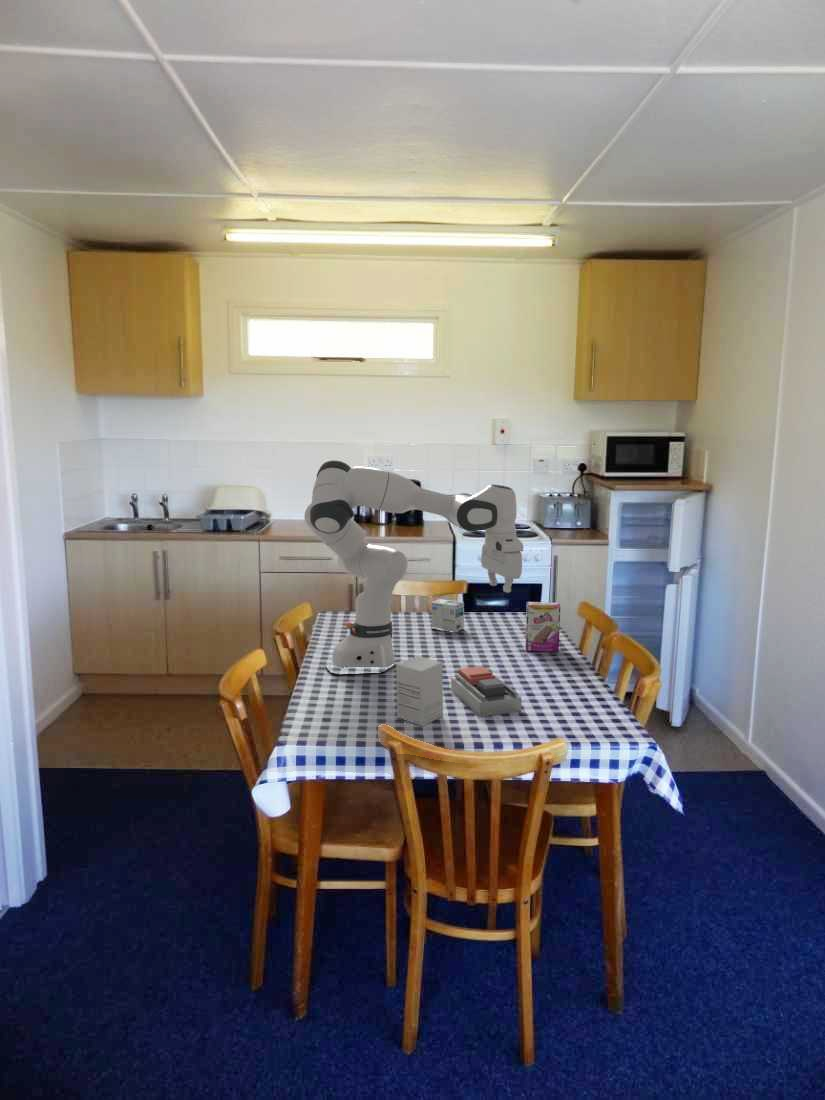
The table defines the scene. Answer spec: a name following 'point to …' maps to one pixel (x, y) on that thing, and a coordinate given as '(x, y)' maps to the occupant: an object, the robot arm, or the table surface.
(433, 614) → the light bulb box
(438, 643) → the table surface
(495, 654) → the table surface
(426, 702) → the supplement box
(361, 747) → the table surface
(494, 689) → the plug
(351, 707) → the table surface
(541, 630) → the candy bar box
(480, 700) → the socket
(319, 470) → the robot arm
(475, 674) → the red stepped block
